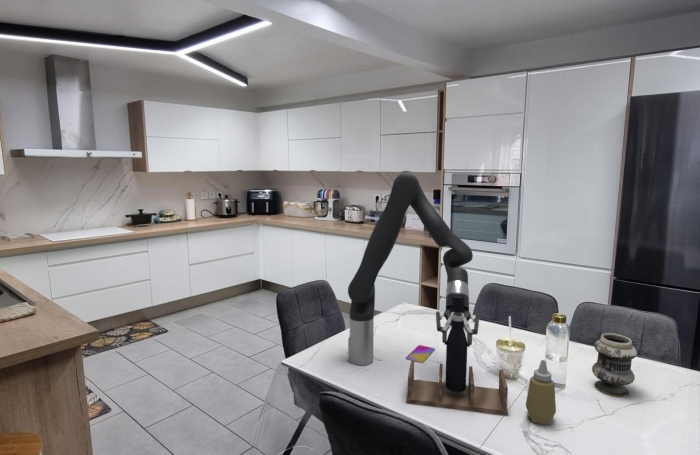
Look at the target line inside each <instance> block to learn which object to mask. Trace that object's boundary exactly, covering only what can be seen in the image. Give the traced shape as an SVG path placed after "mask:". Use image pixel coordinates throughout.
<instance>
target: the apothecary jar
mask: <svg viewBox="0 0 700 455" xmlns="http://www.w3.org/2000/svg"><path fill="white" fill-rule="evenodd" d="M632 342H633V341H632V339H631V338H629V337H627V336H625V335H622V334H618V333H614V332H612V333H611V332H606V333H602V334H601V336H600V338H599V339H597V340H596V341H595V343H594V349H595V351H596V352H597V360H596V362H595V363H594V364H593V365H592V367H591V371H592V374H593V375H594V376H595V377H596V378H597V379H598V380H597V381H595V383H594V387H595V388H596V389H597V390H598V391H600V392H601V393H604V394H606V395H609V396H613V397H624V396H629V395H630V391H629V389H628V388H627V387H626V386H629V385H631V384H633V383H634V381H635V379H636V378H635V372H633V371H632V361H633V360H634V359H635V358H636V357H637V355H638V352H637V349H636V348H635V346H633V343H632Z"/></svg>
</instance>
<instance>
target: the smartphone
mask: <svg viewBox="0 0 700 455" xmlns="http://www.w3.org/2000/svg"><path fill="white" fill-rule="evenodd" d="M435 351H436V348H434V347H430V346H425V345H421V344H419V345H417V347H415V348H414V349H413V350H412V351H411V352H410V353H409V354H408V355H407V356H406V357H405V360H407V361H410V362H411V360H412V361H414V363H419V364H423V363H425V362H426V360H428V358H430V356H432V354H433V353H434V352H435Z"/></svg>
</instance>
